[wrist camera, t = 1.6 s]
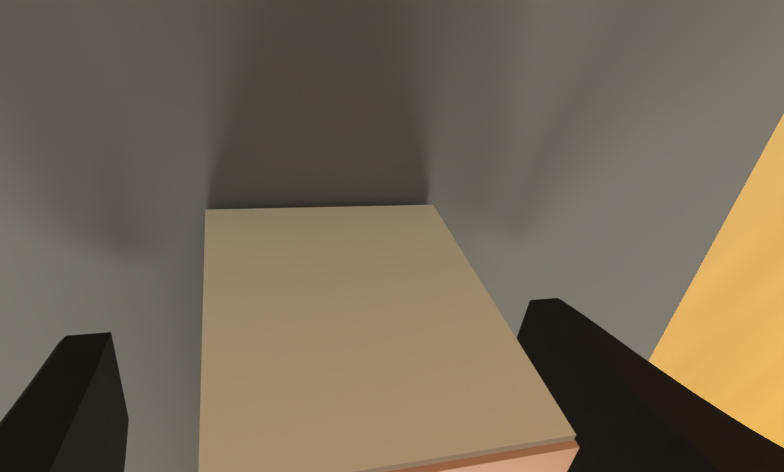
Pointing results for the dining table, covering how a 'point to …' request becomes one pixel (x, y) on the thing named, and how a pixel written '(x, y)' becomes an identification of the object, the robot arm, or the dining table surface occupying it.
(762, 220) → the dining table surface
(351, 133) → the mat
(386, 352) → the block
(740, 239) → the dining table surface
